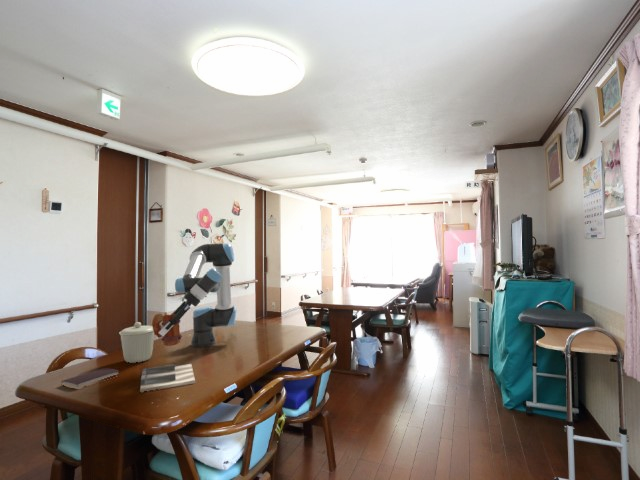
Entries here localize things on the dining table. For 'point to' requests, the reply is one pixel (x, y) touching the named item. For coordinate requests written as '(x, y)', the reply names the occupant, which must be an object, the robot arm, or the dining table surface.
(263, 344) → the dining table surface
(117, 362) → the dining table surface
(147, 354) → the canister
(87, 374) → the book
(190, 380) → the notched board
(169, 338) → the mug
